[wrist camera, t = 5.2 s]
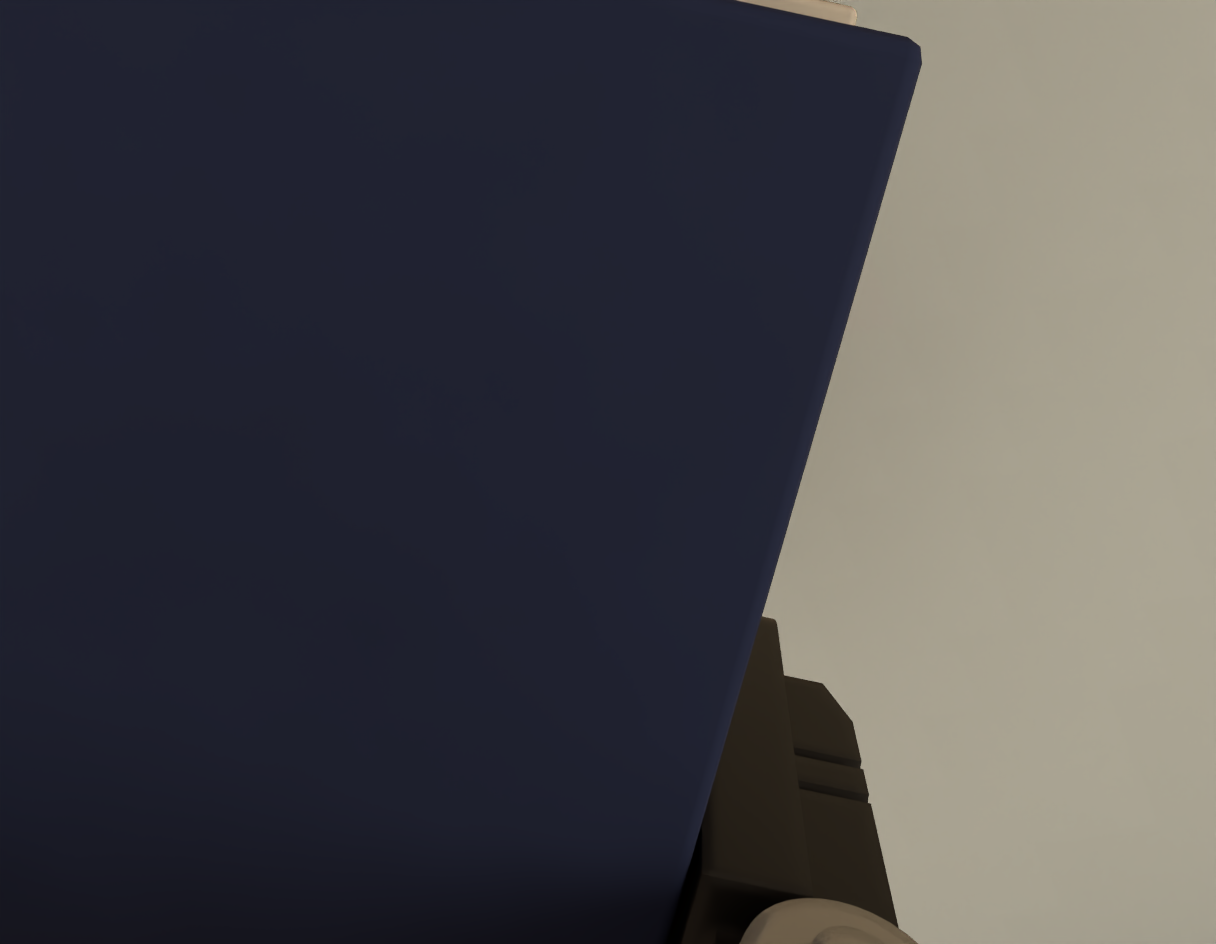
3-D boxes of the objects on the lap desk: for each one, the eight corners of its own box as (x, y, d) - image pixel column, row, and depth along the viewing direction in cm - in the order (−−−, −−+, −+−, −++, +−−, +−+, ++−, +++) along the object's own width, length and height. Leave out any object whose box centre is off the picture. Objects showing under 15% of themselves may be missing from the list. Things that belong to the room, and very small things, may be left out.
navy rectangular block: (213, -124, 9) (-225, -260, 5) (840, 9, 9) (968, -1, 5) (156, 962, 14) (-91, 1391, 9) (572, 1049, 14) (514, 1517, 9)
